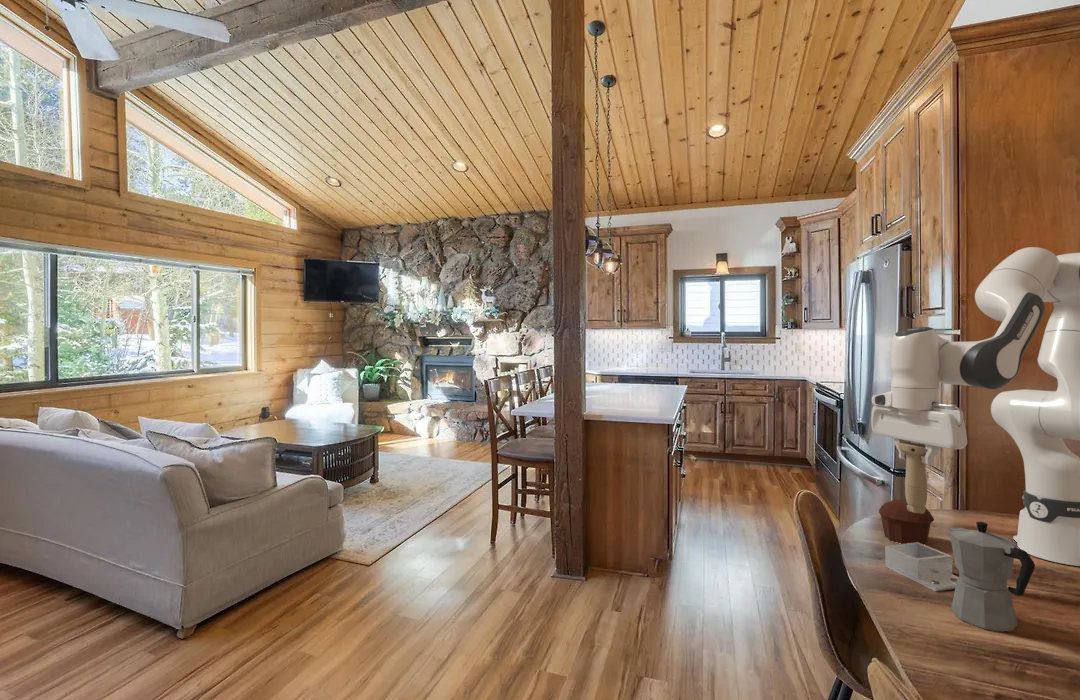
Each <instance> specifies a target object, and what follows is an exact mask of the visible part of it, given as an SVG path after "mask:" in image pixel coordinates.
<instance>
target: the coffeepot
mask: <svg viewBox="0 0 1080 700" xmlns="http://www.w3.org/2000/svg"><path fill="white" fill-rule="evenodd" d="M975 524H976V528H977V530H975V529H966V528H963V527H956V526H953V527H948V528H947V529H948V531H949V539H950V544H951V547H952V554H953V558H954V564H955V568H956V569H957V570H958V571H959V572H958V573H959V574H958V575H959V576H958V577H959V578H958V579H957V583H956V588H955V589H954V594H953V599H952V604H951V608H950V609H951V611H952V612H953V614H954V616H956V617H957V618H958V619H959V618H960V619H959V620H961V621H963V622H964V621H965V623H966V622H967V624H969V625H970V626H973V625H974V626H973V627H977V628H980V629H983V630H989V631H991V632H992V631H993V632H998V631H1001V633H1005V632H1004V631H1007V632H1006V633H1008V632H1013V631H1014V630H1015V629H1016V627H1018V626H1019V625H1018V624H1019V623H1018V620H1017V615H1016V612H1015V607H1014V602H1013V600H1012V599H1013V598H1012V594H1013V595H1015V596H1019V597H1022V596H1024V595H1025V592H1026V589H1027V588H1028V584H1029V582H1030V580H1031V577H1032V575H1033V573H1034V571H1035V569H1036V564H1035V562H1034V560H1033V558H1031V555H1030V554H1028V553H1027V552H1026V551H1024V550H1022V549H1019V548H1018V547H1017V543H1016V542H1015V541H1014V540H1013V541H1012V540H1011V539H1009V538H1008V537H1006V536H1004V535H999V534H995V533H992V532H988V531H987V529H988V525H989V524H988V523H987V522H984V521H976V522H975ZM1015 559H1016V560H1019V561H1020V563H1021V566H1020V569H1019V575H1018V577H1017V578H1016V582H1015V583H1016V585H1015V586H1016V587H1012V586H1008V581H1009V580H1010V579H1011V577H1012V572H1013V566H1014V561H1015ZM1011 593H1012V594H1011Z"/></svg>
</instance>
